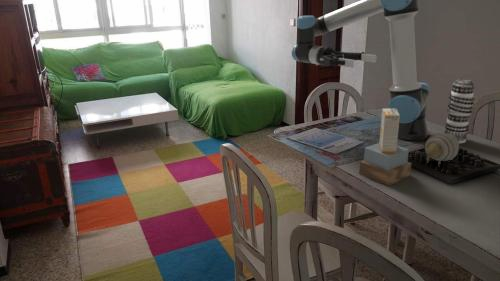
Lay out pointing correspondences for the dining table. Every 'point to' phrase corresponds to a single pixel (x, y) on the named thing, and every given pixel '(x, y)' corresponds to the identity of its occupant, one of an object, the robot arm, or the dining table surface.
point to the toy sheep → (442, 146)
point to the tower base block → (385, 172)
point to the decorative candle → (460, 109)
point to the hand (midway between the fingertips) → (364, 61)
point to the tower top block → (385, 157)
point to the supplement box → (389, 130)
